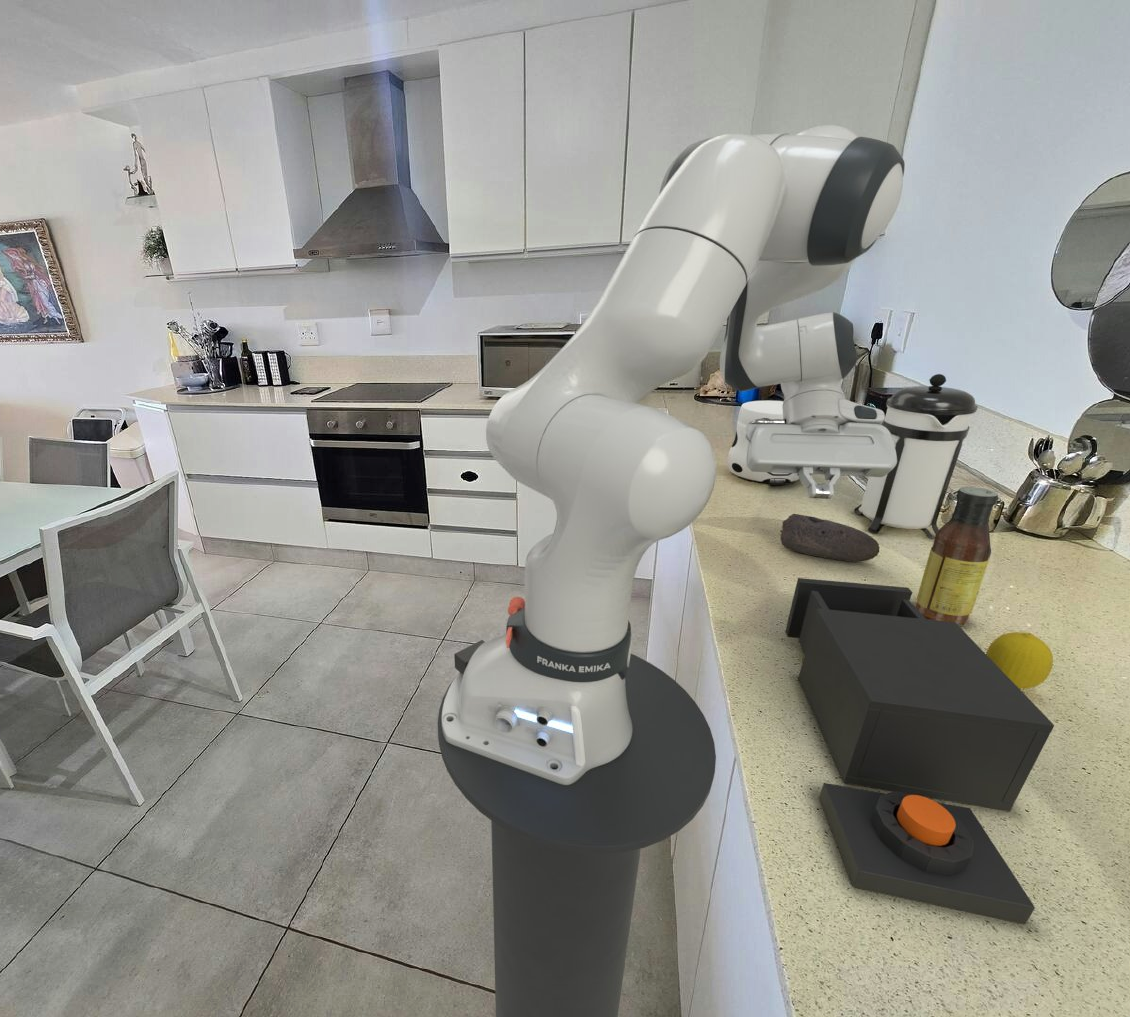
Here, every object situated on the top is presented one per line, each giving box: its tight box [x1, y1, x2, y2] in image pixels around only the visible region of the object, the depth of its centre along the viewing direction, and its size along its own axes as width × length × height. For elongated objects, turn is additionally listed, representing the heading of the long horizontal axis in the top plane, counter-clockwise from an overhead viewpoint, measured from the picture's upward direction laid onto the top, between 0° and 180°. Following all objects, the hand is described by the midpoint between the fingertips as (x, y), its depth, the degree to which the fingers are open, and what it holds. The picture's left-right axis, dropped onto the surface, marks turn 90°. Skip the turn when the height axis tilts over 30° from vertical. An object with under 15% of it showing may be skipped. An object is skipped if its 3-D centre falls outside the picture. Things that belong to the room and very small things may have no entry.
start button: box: [897, 795, 956, 846], centre depth 47 cm, size 4×4×2 cm
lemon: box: [985, 631, 1054, 690], centre depth 66 cm, size 6×6×8 cm
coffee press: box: [853, 373, 979, 540], centre depth 105 cm, size 17×16×30 cm
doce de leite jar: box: [727, 400, 800, 486], centre depth 133 cm, size 17×17×18 cm
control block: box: [818, 782, 1036, 925], centre depth 48 cm, size 12×9×4 cm
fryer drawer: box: [784, 577, 927, 655], centre depth 69 cm, size 19×13×9 cm
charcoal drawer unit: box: [797, 608, 1055, 812], centre depth 59 cm, size 16×14×11 cm
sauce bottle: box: [915, 486, 999, 626], centre depth 78 cm, size 7×6×20 cm
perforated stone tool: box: [779, 513, 880, 563], centre depth 98 cm, size 15×5×7 cm, turn 54°
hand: (821, 497), depth 84 cm, fingers closed
